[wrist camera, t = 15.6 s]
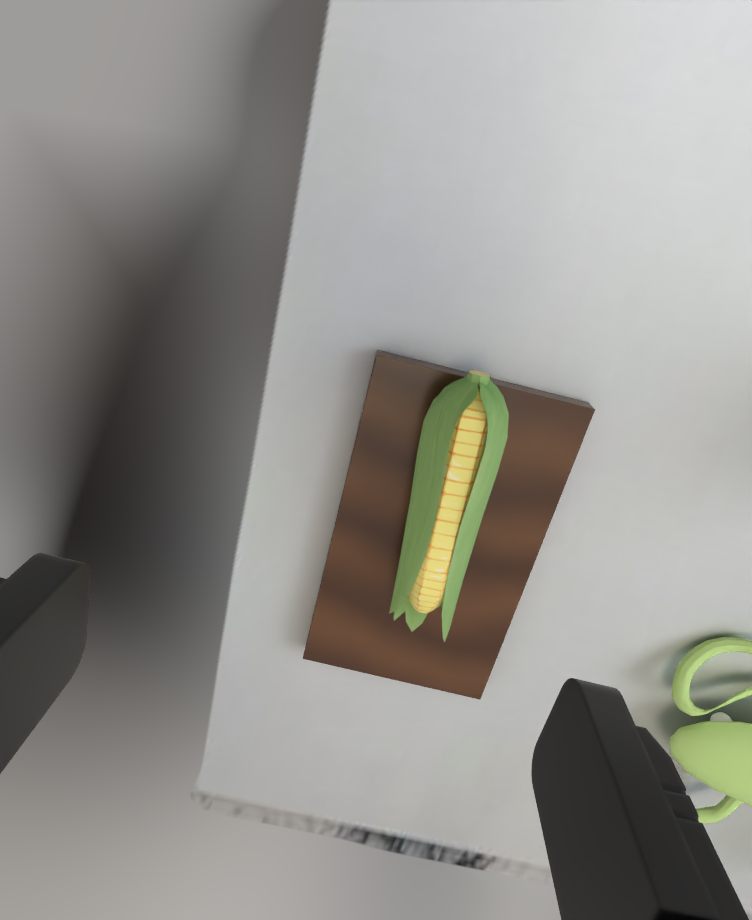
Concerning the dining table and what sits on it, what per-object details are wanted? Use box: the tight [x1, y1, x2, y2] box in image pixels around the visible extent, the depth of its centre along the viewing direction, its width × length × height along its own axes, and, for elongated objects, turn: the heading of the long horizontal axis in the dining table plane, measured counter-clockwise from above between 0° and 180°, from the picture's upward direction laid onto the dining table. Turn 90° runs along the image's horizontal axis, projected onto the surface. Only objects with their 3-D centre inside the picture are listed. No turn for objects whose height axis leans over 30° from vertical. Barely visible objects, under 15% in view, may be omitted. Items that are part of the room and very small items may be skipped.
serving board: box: [303, 350, 595, 699], centre depth 42 cm, size 24×14×2 cm, turn 167°
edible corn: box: [389, 370, 509, 642], centre depth 38 cm, size 5×20×4 cm, turn 170°
